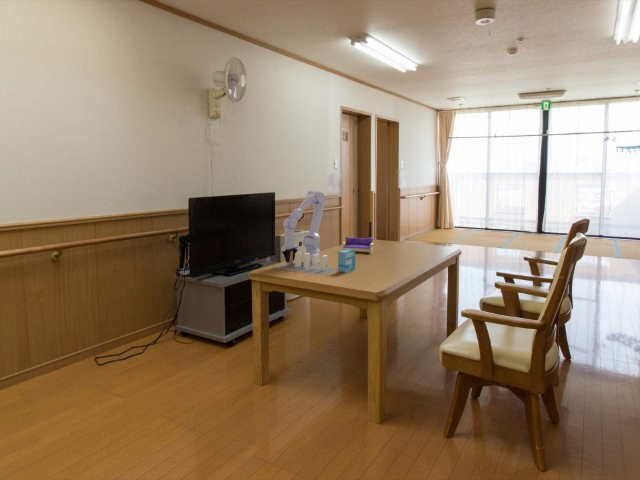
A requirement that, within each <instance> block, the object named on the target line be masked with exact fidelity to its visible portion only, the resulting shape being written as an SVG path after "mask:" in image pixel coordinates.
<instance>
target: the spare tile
mask: <svg viewBox="0 0 640 480" xmlns="http://www.w3.org/2000/svg"><path fill="white" fill-rule="evenodd" d="M293 263H294V261H293V251H291V254H290V261H289V262H286V264H287V266H290V265H293Z"/></svg>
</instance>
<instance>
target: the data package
mask: <svg viewBox="0 0 640 480" xmlns="http://www.w3.org/2000/svg"><path fill="white" fill-rule="evenodd" d="M337 255H338V256H337V257H338V259H337V272H338V273H343V274H346V273H350V272H352V271H354V270H356V251H355V250H352V249H346V250H343V249H342V250H340V251H338V253H337Z"/></svg>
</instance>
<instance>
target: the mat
mask: <svg viewBox="0 0 640 480" xmlns="http://www.w3.org/2000/svg"><path fill="white" fill-rule="evenodd" d="M272 268H273V269H279V270H287V271H293V272H300V273H309V274H315V275H321V276H324V275H326V274H329V273H332V272H334V271H338V268H332V267H328V270H326V271H321V266H319V269H316V270H312V265H311V264H310V268H307V269H305V268H304V263H302V266H301V267H295V262H293V265H290V266H287V263H284V264H281V265H277V266H274V267H272Z"/></svg>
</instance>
